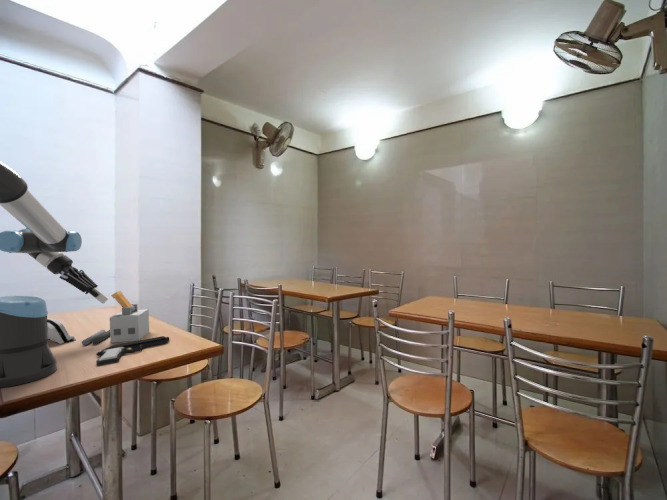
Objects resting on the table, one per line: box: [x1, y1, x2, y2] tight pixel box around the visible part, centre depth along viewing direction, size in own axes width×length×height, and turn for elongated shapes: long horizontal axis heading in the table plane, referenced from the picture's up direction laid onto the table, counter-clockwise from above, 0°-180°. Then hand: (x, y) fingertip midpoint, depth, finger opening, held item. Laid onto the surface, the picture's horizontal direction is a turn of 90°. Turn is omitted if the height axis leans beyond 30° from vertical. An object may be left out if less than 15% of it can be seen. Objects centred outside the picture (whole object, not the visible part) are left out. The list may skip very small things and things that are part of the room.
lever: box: [110, 290, 136, 312], centre depth 128 cm, size 2×5×10 cm
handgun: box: [95, 335, 170, 366], centre depth 111 cm, size 3×23×15 cm
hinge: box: [47, 317, 76, 345], centre depth 126 cm, size 17×5×10 cm, turn 58°
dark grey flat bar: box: [81, 329, 110, 346], centre depth 126 cm, size 5×14×2 cm, turn 14°
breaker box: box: [109, 303, 150, 344], centre depth 128 cm, size 10×12×13 cm
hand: (105, 300), depth 126 cm, fingers closed
